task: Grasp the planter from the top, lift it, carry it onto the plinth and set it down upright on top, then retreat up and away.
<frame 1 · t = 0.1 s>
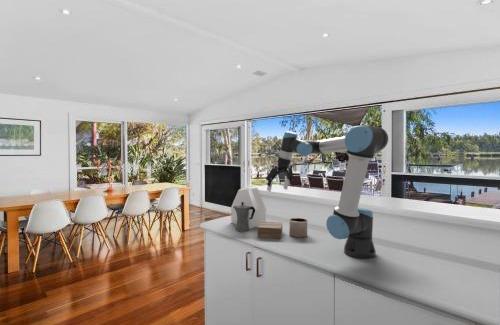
hand: (277, 189, 181), 28 cm above the table, tool tilted 20°, fingers open, 13 cm apart
coffeepot: (243, 229, 194), on the table
planter: (298, 235, 182), on the table
white slotted block: (248, 224, 209), on the table
plinth: (270, 234, 183), on the table
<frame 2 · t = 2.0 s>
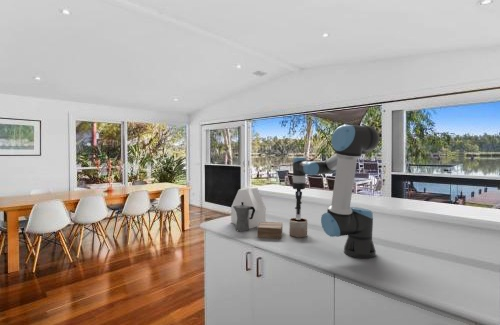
hand: (298, 216, 182), 11 cm above the table, tool pointing down, fingers open, 13 cm apart
nothing on the table moved.
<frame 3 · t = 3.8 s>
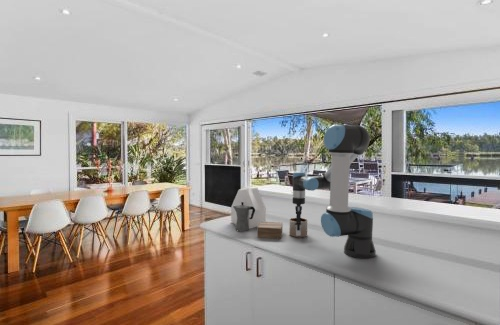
hand: (298, 232, 182), 1 cm above the table, tool pointing down, fingers closed on planter, 11 cm apart
planter: (298, 235, 182), on the table, touching gripper
everything else where it was.
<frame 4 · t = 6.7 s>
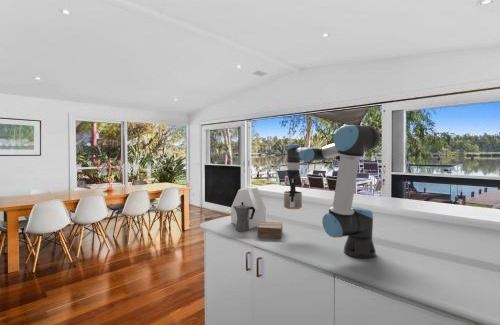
hand: (292, 205, 182), 18 cm above the table, tool pointing down, fingers closed on planter, 11 cm apart
planter: (292, 208, 182), point 17 cm above the table, touching gripper
everything else where it was.
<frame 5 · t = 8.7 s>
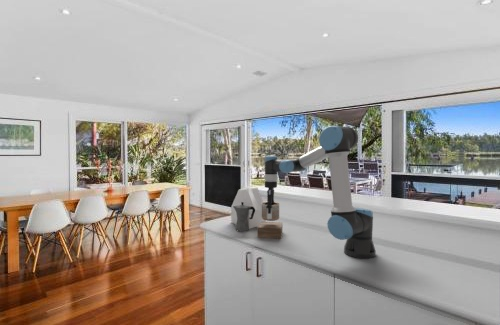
hand: (270, 216, 183), 11 cm above the table, tool pointing down, fingers closed on planter, 11 cm apart
planter: (270, 219, 183), point 10 cm above the table, touching gripper
everything else where it was.
when the fingers open (9 cm above the table, at t = 10.1 s): planter drops 2 cm, resting on plinth.
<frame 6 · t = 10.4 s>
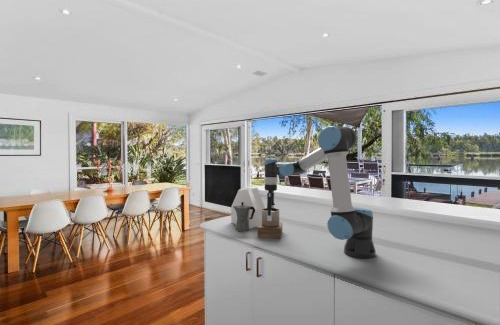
hand: (270, 218, 183), 10 cm above the table, tool pointing down, fingers open, 13 cm apart
planter: (270, 225, 183), point 6 cm above the table, touching plinth
everything else where it was.
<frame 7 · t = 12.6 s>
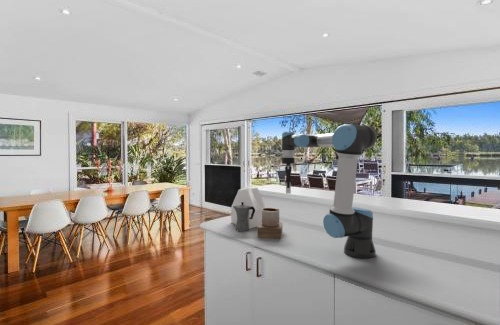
hand: (288, 192, 182), 26 cm above the table, tool pointing down, fingers open, 13 cm apart
nothing on the table moved.
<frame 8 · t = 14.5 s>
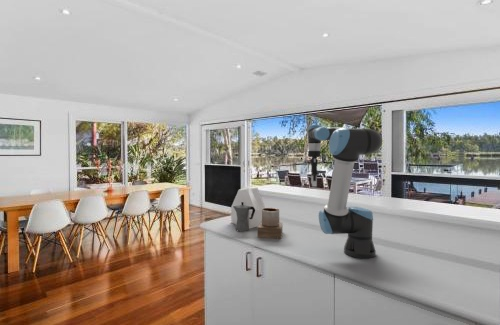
hand: (313, 184, 183), 31 cm above the table, tool pointing down, fingers open, 13 cm apart
nothing on the table moved.
at the end: planter inside the target area on the plinth (0.1 cm from its centre), point 5.8 cm above the plinth's base; planter tilted 0°; the gripper is holding nothing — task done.
